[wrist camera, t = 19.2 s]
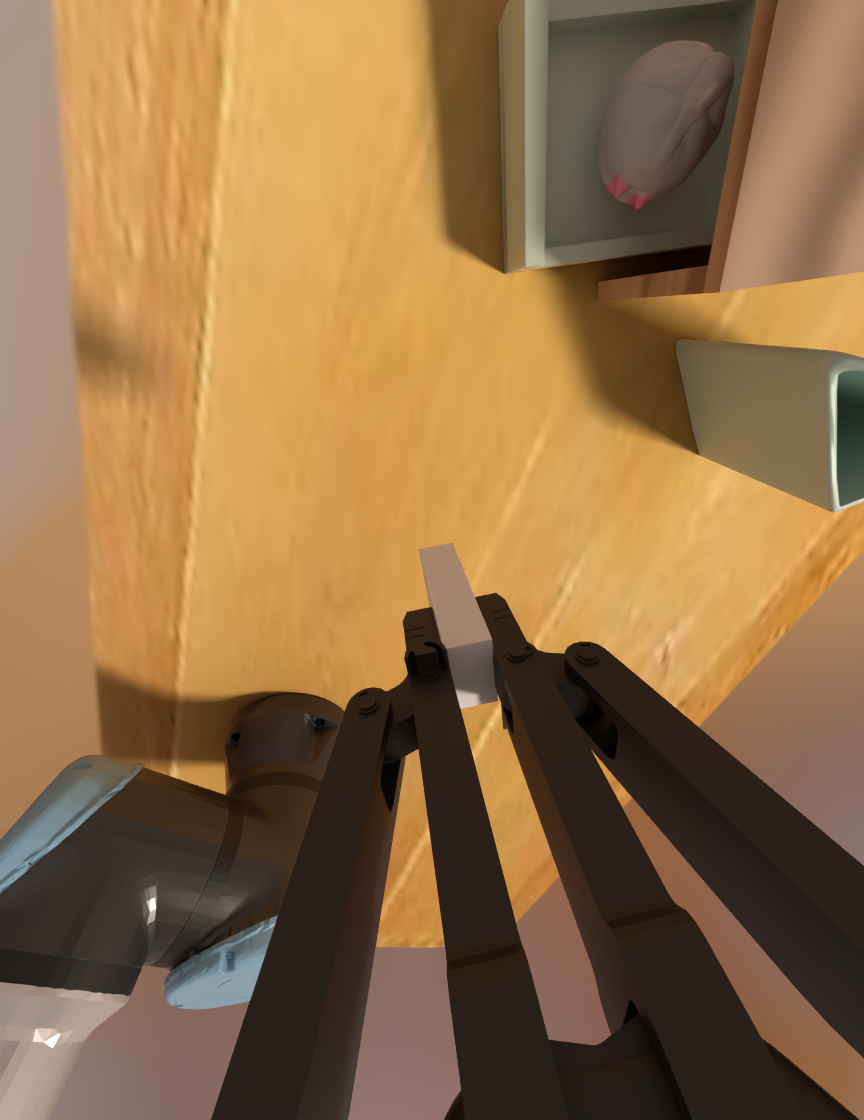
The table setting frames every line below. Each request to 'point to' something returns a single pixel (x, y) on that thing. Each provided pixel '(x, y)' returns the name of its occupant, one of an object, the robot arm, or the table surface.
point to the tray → (598, 127)
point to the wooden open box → (786, 159)
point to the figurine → (662, 119)
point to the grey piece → (780, 416)
